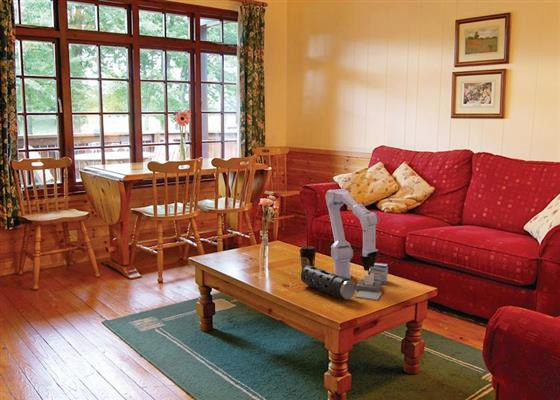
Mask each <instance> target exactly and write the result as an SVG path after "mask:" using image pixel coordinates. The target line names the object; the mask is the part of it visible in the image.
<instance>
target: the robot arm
mask: <svg viewBox="0 0 560 400" xmlns="http://www.w3.org/2000/svg"><path fill="white" fill-rule="evenodd" d="M324 197H325V202H326V206H327V209H328V214H329V219H330V223H331V224H330V225H331V229H332V234H333V240H334V243H332V245H331V246H330V257H331V258H332V260H333V262H334V264H333V265H334V267H333V269H334V271H333V272H334V273H333V274H336V275H339V276H343V277H346V278H349V279H351V278H352V276H353V275H352V274H351V262H350V261H351V259H352V258H353V256H354V250H353V249H352V247H351V243H350V242H348V241H347V240H346V236H345V231H344V227H343V226H344V225H343V221H342V217H341V211H340V209H341V207H342V206H343V205H344V204H345V205H346V206H347V207H349V208H350V209H351V211H352V214H353V215H354V217H356V218H358V219H359V222H360V224H361V225H360V226H361V229H362V248H361V249H362V253H361V254H360V255H359V259H360V260H361V262H362V268H363V270H364V271H366V272H368V271H370V267H374V263H376V258H377V255H378V253H379V249H377V248H376V235H377V234H376V233H377V232H376V228H377V227H376V226H377V225H378V224H379V216H378V215H377V213H376V212H371V211H370V210H368V209H367V208H366V207H365V206H364V204H363V203H357V202H356V201H355V199H354V198H352V196H350V192H349V190H347V189H346V188H342V189H341V188H340V189H329V190H327V191H326V194H325V196H324Z"/></svg>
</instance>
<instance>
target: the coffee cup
mask: <svg viewBox="0 0 560 400" xmlns="http://www.w3.org/2000/svg"><path fill="white" fill-rule="evenodd" d="M299 253H300V254H299V255H300V256H299V259H300V266H301V270H300V271H301V272H302V270H303V269H304V268H305V267H306V266H308V265H311V266H314V267H315V263H316V254H317V249H316V247H315V246H310V245H303V246H301V247H300V249H299ZM307 272H308V271H307Z"/></svg>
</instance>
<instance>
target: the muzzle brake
mask: <svg viewBox="0 0 560 400" xmlns="http://www.w3.org/2000/svg"><path fill="white" fill-rule="evenodd" d="M301 270H302V269H301ZM307 271H308V272H307ZM300 280H301V282H302V283H303V284H305V285H307V286H308V287H310V288H312V289H315V290H316V291H319V292H323V293H327V294H330V295H332V297H333V298H335V299H340V300H342V301H343V300H348V301H349V300H350V299H352V298H353V297H354V296H355V294H356V284H355V282H354V281H353V280H352V279H351V278H350V279H349V278H346V277H343V276H339V275H336V274H334V273H333V272H330V271H327V270H324V269H322V268H319V267H316V266H315V265H314V266H311V265H308V266H306V267H305V268H304V269H303V270H302V271H301V272H300Z"/></svg>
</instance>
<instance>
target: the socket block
mask: <svg viewBox="0 0 560 400" xmlns="http://www.w3.org/2000/svg"><path fill="white" fill-rule="evenodd" d="M382 284H383V283H382V282H379V281H374V285H373V286H370V285H364V279H360V280H359V281H358V282H357V284H355V286H356V290H355V292H359V291H360V290H363V291H371V292H380V290H381V288H382V287H383V285H382Z"/></svg>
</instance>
